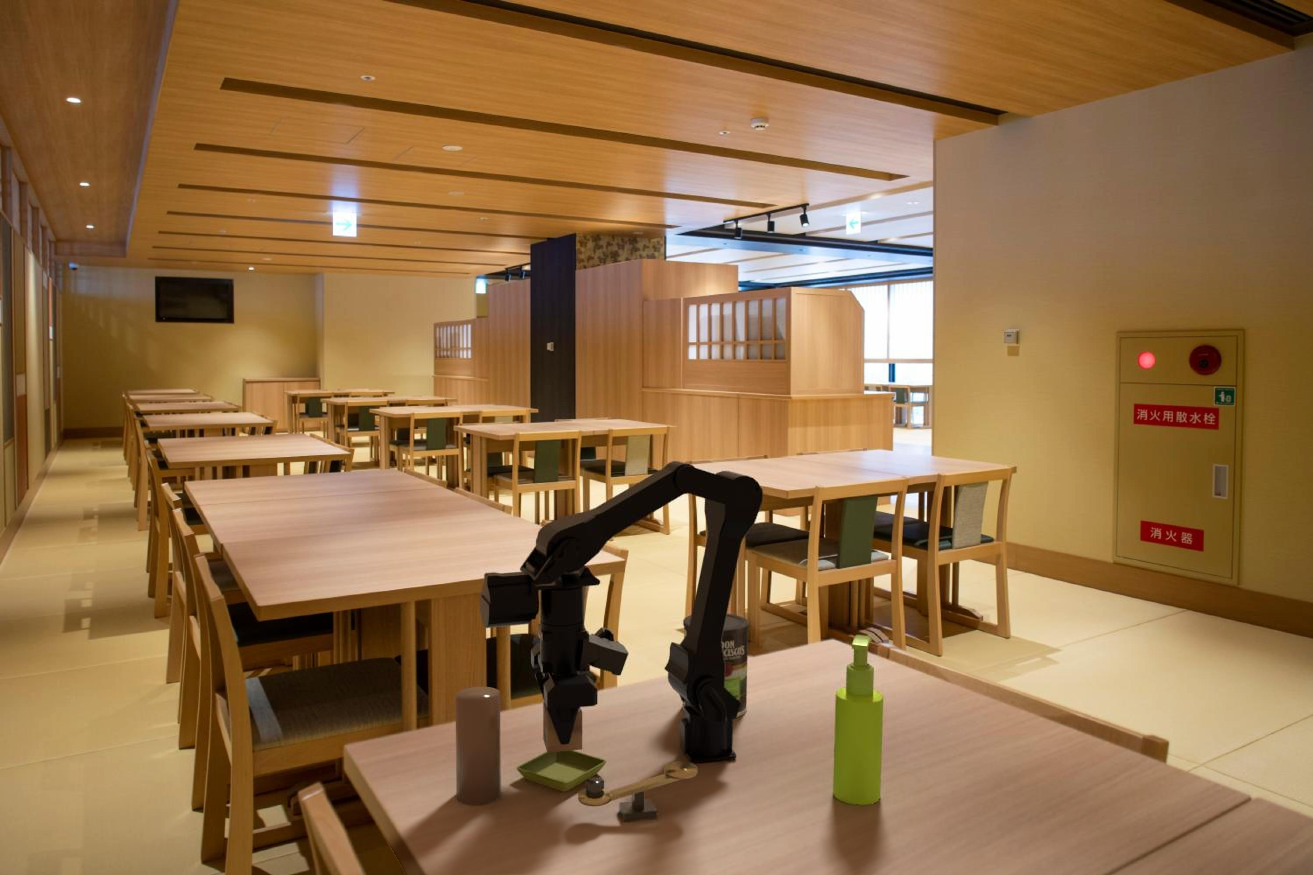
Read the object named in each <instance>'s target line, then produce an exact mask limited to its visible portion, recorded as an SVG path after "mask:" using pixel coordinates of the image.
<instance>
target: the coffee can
mask: <svg viewBox="0 0 1313 875" xmlns="http://www.w3.org/2000/svg"><path fill="white" fill-rule="evenodd" d="M691 616H692V614H691V615H689V616H686V617H685V618H684V619H682V620H683V621H682V622H683V623H682V625H683V639H684V638H685V637H686V635H687V633H688V631H689V626H690V621H691ZM749 628H750V621H749V620H748V619H746V618H745V617H744V616H740V615H736V614H731V613H727V616H726V621H725V626H724V631H723V636H722V649H723V655H724V660H725V687H724V688H726V689H727V690H728V691H729V692H730V693H731V694H732V695H733V696H734V697H735V698H736V699H737V700H738V701H739V702H740V703H741V705H740V708H739V711H738V714H737V717H736V718H739V717H742V716H743V715H745V714H746V712H747V710H748V708H747V702H748V701H747V695H748V690H747V689H748V657H749V656H748V655H749V654H748V653H749V651H748V650H749V648H748V647H749ZM686 706H688V705H687V704H686V703H685V702H683V701H682V706H681V707H682V710H683V711H684V707H686ZM736 718H735V719H736Z"/></svg>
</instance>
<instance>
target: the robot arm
mask: <svg viewBox="0 0 1313 875" xmlns="http://www.w3.org/2000/svg"><path fill="white" fill-rule="evenodd" d="M686 494H688V495H689V494H690V495H692V496H696V497H699V498H702V499H704V517H705V521H706V526H707V527H706V528H707V539H706V542H705V543H706V544H705V548H704V551H703V552H704V554H703V558H702V563H701V567H700V573H699V577H698V578H699V579H698V584H697V588H696V593H695V596H694V597H695V598H694V603H693V607H692V613H691V615H692V616H691V621H690V626H689V631H688V633H687V635H686V637H685V638H684V637H683V639H682V640H681V642H680V643H677V642H672V641H671V643H670V646H669V656H668V660H667V663H666V665H665V666H664V671H666V672H667V681H668V684H669V685H670V686H671V688H672V690H674V691H675V692H676V693H677V694H678V695H679V698H680V700H681V702H682V703H683V702H685V703H686V704H687V705H688V706H686V707H684V710H683V717H681V718H680V719H679V720H680V721H679V722H680V723H679V747H680V748H681V750H682V751H683V753H684V754H685V755H686V757H687V758H688V759H689V761H690V763H692V764H694V763H705V762H715V761H726V760H734V759H737V754H736V752H735V751H734V750H733V734H734V733H733V732H734V731H733V730H734V729H733V728H734V727H733V726H734V725H733V724H734V719H736V717H737V714H738V711H739V708H740V705H741V703H740V702H739V701H738V700H737V699H736V698H735V697H734V696H733V695H732V694H731V693H730V692H729V691H728V690H727V689H726V688H724V687H725V660H724V655H723V649H722V636H723V631H724V626H725V621H726V616H727V614H728V611H729V606H730V600H731V596H732V590H733V587H734V586H733V585H734V581H735V575H736V571H737V566H738V560H739V556H740V551H741V547H742V542H743V541H744V539H745V537H746V535H747V534H748V533H749V531H750V530H751V528H753V526H754V525H755V523H756V520H757V518H758V516H759V515H758V514H759V512H760V510H761V507H762V504H763V500H764V491H763V488H762V487H761V486H760V483H759V482H758V481H757V480H756V479H755V478H754V477H752V476H749V475H745V474H741V473H737V472H734V471H730V470H721V471H718V472H716V473H713V472H710V471H706V470H703V469H700V468H697V467H695V466H694V465H693V464H690V463H687V462H683V461H680V460H673V461H670V462H668V463H666V465H664V467H663V468H661V469H659V470H658V471H656V472H655V473H652V474H651V475H649V476H647V477H645V478H643V480H641V481H639V482H637V483H636V484H633V485H632V486H630V487H628V488H627V489H625V490H623V491H622V492H620V493H618V494H616V495H614V496H613V497H611V498H610V499H607V500H606V501H605V502H603V503H601V504H599V505H598V506H596V507H594V508H592V509H591V508H590V509H589V510H586V511H582V512H577V513H572V514H570V515H569V514H568V515H567V516H566V515H565V516H563V517H561V518H558V519H555V520H553V521H550V522H548V523H546V524H544V525H543V526H542V527H541V528H540V529H539V531H538V532H537V536H536V538H535V546H534V548H533V549H532V550H531V552H530V553H529V555H527V557H526V559H525V560H524V561H523V563H522V565H521V566H520V567H519V571H512V572H502V573H501V572H495V571H494V572H485V573H484V576H483V577H484V578H483V581H484V582H483V583H482V586H481V594H479V611H480V612H479V613H480V617H481V623H482V625H483V628H484V629H492V628H501V627H511V626H521V625H523V626H524V625H529V624H530V623H532V621H533V620H536V619H537V616H538V614H539V623H537V624H538V625H537V632H538V634H539V642H537V643H536V644H535V645H534V646H533V647H532V648H531V649H530V663H531V666H532V669H538V667H539V668H540V671H536V672H534V676H535V679H536V682H537V685H538V688H539V690H540V693H541V697H542V700H543V702H544V703H545V705H546V708H547V710H548V713H549V715H550V718H551V721H552V723H553V725H554V728H555V731H556V733H557V736H558V738H559V741H560V743H561V744H562V745H564V744H569V742H570V739H571V735H572V731H573V727H574V723H575V720H576V716H577V713H578V710H579V708H585V707H586V708H587V707H596V706H597V705H598V687H597V686H596V684H595V682H594V680H593V679H592V678H591V677H590V676H589V675H587V674H586V673H587V672H591V667H593V668H596V669H599V670H603V671H606V672H610V673H611V674H612V675H613V676H617V677H618V676H622V672H623V670H624V668H625V665H626V661H627V659H628V657H629V654H630V653H629V651H628V650H627V648H626V646H625V645H624V644H622V643H620V641H619V640H616V641H615V636H614V633H613V631H612V630H611V629H608V628H606V627H602V626H601V627H600V628H599V629H597V631H596V632H595V633H590V632H589V631H588V630H587V629H586V626H585V587H592V586H599V585H600V584H601V580H600V579H599V578H598V577H596V576H595V575H594V574H593V572H592V571H591V570H590V568H589V566H587V565H586V564H588V563H589V562H590V561H591V560H593V559H594V558H595V557H596V556H597V555H598V554H599V553H600V552H601V550H602V549H603V548H604V547H605V545H606V544H607V543H608V542H609V541H610V540H612V538H614V537H615V536H617V534H620V533H621V532H623V531H624V530H626V529H628V528H629V527H631V526H633V525H635V524H636V523H638V522H639V521H641V520H642V519H643V520H644V518H646V517H648V516H650V515H652V514H653V513H655V512H656V511H658V510H660V509H661V508H663V507H665V506H667V505H668V504H669V503H671V502H673V501H675V500H677V499H678V498H680V497H682V496H683V495H686ZM580 672H581V673H582V674H581V673H580ZM584 672H586V673H584ZM737 718H738V717H737Z"/></svg>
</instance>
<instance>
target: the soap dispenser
mask: <svg viewBox="0 0 1313 875" xmlns="http://www.w3.org/2000/svg"><path fill="white" fill-rule="evenodd" d="M872 639H873V636H872V635H871V636H870V635H864V634H856V635H854V638H853V641H852V643H851V649H852V650H853V662H850V663H849V664H847V665H846V667H845V668H846V674H845V678H846V679H845V687H841V688H839V689H836V691H835V699H834V700H835V705H834V706H835V707H834V709H835V711H834V736H833V737H834V739H833V740H834V741H833V742H834V745H833V751H834V752H833V776H832V777H833V778H832V779H833V783H832V794H833V796H834V797H835V798H836V799H837V800H838V801H841V802H843V803H846V804H849V805H853V804H855V805H854V806H857V805H856V804H859V805H858V806H866V805H865V804H870V805H873V804H872V803H874V804H876V803H878V802H879V801H880V800H879V799H881V790H882V788H881V787H882V786H881V784H882V753H883V750H882V749H883V728H884V727H883V724H884V723H883V722H884V721H883V720H884V694H882V693H881V692H880V691H878V690H876V689H875V688H874V680H875V678H874V677H875V668H874V667H873V666H872V665H871V664H869V663H868V655H869V654H868V653H869V646H870V643H871V641H872ZM877 801H878V802H877ZM875 802H876V803H875ZM863 804H864V805H863Z"/></svg>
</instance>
